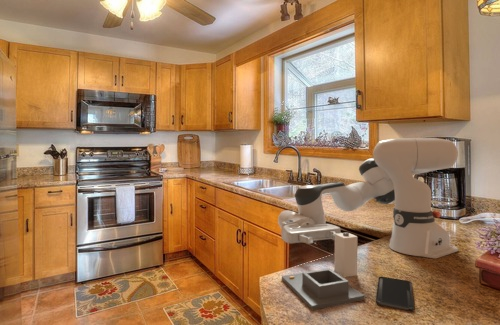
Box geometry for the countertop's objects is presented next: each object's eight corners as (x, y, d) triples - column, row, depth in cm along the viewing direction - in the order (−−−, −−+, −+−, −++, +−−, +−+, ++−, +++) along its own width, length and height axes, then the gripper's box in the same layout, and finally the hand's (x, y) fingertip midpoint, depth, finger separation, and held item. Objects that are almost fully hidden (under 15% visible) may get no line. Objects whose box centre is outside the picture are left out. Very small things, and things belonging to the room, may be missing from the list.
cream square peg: (347, 269, 87) (347, 230, 87) (357, 275, 83) (357, 234, 82) (334, 271, 86) (334, 231, 85) (343, 277, 82) (344, 236, 81)
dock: (326, 272, 85) (326, 258, 85) (364, 299, 70) (364, 283, 69) (281, 279, 80) (281, 265, 80) (312, 310, 65) (312, 292, 65)
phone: (375, 301, 67) (379, 275, 81) (375, 306, 67) (378, 279, 81) (415, 309, 64) (411, 281, 77) (414, 314, 64) (411, 285, 77)
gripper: (327, 234, 111) (351, 245, 98) (277, 240, 104) (295, 253, 91) (327, 217, 111) (351, 227, 97) (277, 222, 104) (295, 233, 91)
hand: (324, 239), depth 94 cm, fingers open, 8 cm apart
